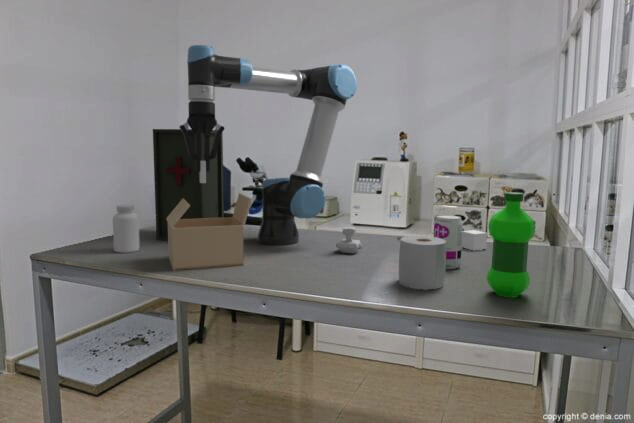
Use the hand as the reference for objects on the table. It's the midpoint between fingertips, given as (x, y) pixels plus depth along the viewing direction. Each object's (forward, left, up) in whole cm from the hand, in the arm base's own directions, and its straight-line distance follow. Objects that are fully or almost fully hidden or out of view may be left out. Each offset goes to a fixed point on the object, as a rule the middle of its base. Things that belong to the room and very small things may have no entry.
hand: (202, 182), depth 148 cm
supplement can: (-67, +28, -24) cm, 77 cm away
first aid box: (-1, -41, -24) cm, 48 cm away
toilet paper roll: (-50, +41, -24) cm, 69 cm away
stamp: (-47, +2, -24) cm, 53 cm away
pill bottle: (+22, -23, -24) cm, 40 cm away
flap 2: (-11, 0, -8) cm, 14 cm away
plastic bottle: (-65, +56, -24) cm, 89 cm away
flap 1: (+7, 0, -9) cm, 11 cm away
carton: (0, 0, -24) cm, 24 cm away
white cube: (-91, +10, -24) cm, 95 cm away
